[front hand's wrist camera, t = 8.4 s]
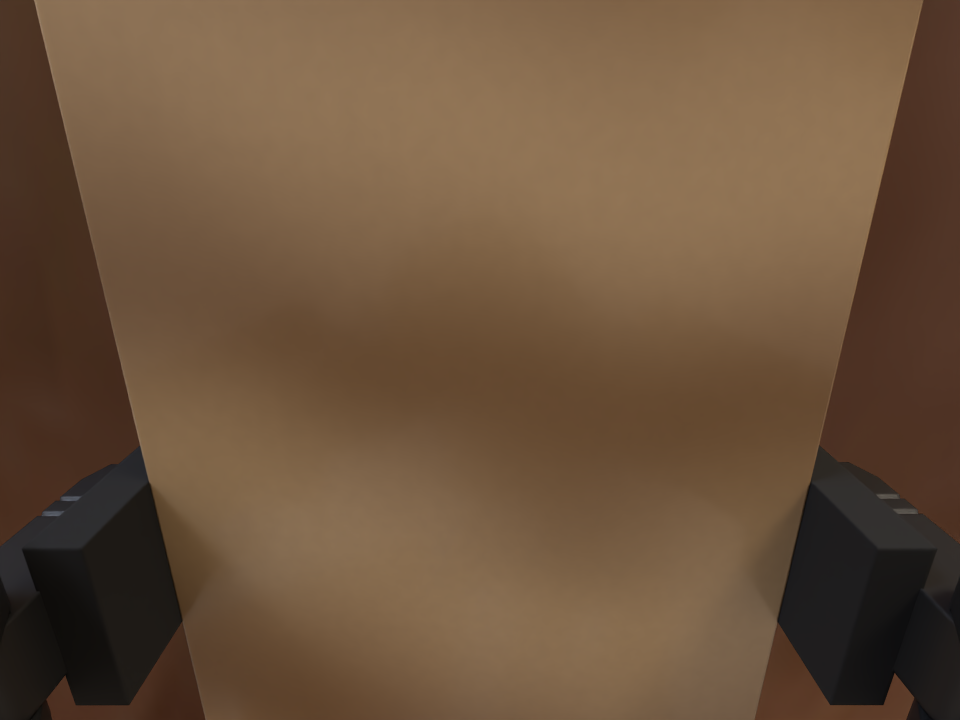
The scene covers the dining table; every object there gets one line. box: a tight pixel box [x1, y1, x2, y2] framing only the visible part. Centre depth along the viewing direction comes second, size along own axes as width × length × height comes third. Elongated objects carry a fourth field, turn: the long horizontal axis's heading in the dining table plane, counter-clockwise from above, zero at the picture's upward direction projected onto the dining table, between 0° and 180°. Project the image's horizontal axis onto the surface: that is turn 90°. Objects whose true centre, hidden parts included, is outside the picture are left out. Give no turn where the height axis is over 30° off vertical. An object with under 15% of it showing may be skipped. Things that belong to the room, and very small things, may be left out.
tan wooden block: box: [34, 0, 923, 720], centre depth 12 cm, size 16×10×9 cm, turn 0°
